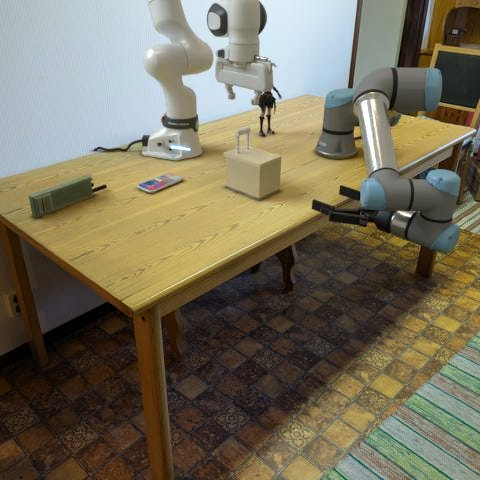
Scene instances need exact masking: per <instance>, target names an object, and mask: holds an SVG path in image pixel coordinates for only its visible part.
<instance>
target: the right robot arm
mask: <svg viewBox="0 0 480 480" xmlns="http://www.w3.org/2000/svg"><path fill="white" fill-rule="evenodd" d="M442 91H443V76H442V71H440V69H439V68H436V67H435V68H434V67H430V66H429V67H390V66H385V67H383V66H382V67H379V68H377V69H374V70H372V71H370V72H369V73H367V74H366V75H365V76H364V77H363V78H362V79H361V80H360V82H358V84H357V86H356V88H349V87H343V88H336V89H333V90H331V91H329V92H328V93H326V95H325V98H324V105H323V117H322V118H323V119H322V129H321V133H320V136H319V138H318V140H317V143H316V145H315V153H316V154H317V156H320V157H323V158H326V159H330V160H331V159H332V160H348V159H352V158H354V157H356V155H357V144H356V140H358V139H361V143H362V151H363V157H364V164H365V169H366V176H367V178H364V179H363V180H362V181H361V183H360V190H358V189H355V188H352V187H349V186H345V185H342V184H340V185H339V191H338V195H339V196H342V197H345V198H348V199H351V200H355V201H357V202H359V201H360V205H361V207H359V206H358V207H357V208H340V207H338V208H337V207H336V208H335V205H331V204H329V203H326V202H323V201H321V200H317V199H314V198H313V199H312V200H311V210H313V211H315V212H318V213H321V214H324V215H327V216H328V222H332V223H339V224H345V225H354V226H359V227H362V228H367V227H368V224H369V223H372V224H374V225H375V228H376V229H377V230H378V231H380V232H384V233H386V234H391V235H392V236H395V237H398V238H401V240H402V241H403V240H406V241H409V242H411V243H413V244H416V245H419V246H421V247H424V248H427V249H429V250H430V251H435V252H438V253H441V254H450V253H451V252H452V251H453V250H454V249H455V248H456V246H457V244H458V243H459V239H460V236H461V227H460V226H459V225H458V224H456V223H454V222H453V219H454V218H453V216H454V213H455V209H456V205H457V203H458V198H459V197H460V196H459V195H460V190H461V189H460V188H461V182H462V181H461V179H462V178H461V177H460V176H459V174H458V173H456V172H454V171H452V170H449V169H443V168H437V169H436V168H435V169H432V170H429V171H428V173H427V175H426V177H425V179H423V178H422V179H418V178H417V179H416V178H401V177H400V176H401V175H400V171H399V164H398V160H397V156H396V150H395V145H394V140H393V136H392V129H391V128H393V127H396V126H397V125H398V124H399V122H400V120H401V118H402V115H412V114H414V113H416V112H426V113H428V112H434V111H436V110H437V109H438V108H439V105H440V101H441V97H442ZM355 127H359V131H360V135H359V136H356V137H355V133H354V132H355Z"/></svg>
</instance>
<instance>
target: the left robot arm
mask: <svg viewBox="0 0 480 480" xmlns="http://www.w3.org/2000/svg"><path fill="white" fill-rule="evenodd" d="M146 2H147V5H148V10H149V13H150V17H151V21H152V25H153V28H154V29H155V30H156V32H158V33H159V34H160V35H162V36H165V37H166V38H167V39H168V40H169V41H170V43H160V44H156V45H153V46H151V47H148V48H147V49H145V52H144V54H143V57H142V59H143V61H142V62H143V67H144V69H145V71H146V73H147V74H148V75H149V76H150V77H151V78H153V79H154V80H155V81H156V82H157V83H158V84H159V86H160V87H161V89H162V92H163V96H164V102H165V113H163V114H162V116H161V118H160V123H161V125H159V127H157V128H156V129H155V130H154V131H152V132H151V133H150V134H143V135H142V137H141V139H137V140H134V141H131V142H130V143H129V144H128V145H127V147H126V148H123V147H113V148H106V147H103V146H96V147H97V148H96V147H95V148H93V150H92V152H97V151H98V150H102V151H104V152H116V151H121V152H127V151H129V150H130V148H131V147H132V146H133V145H135V144H140V143H141V146H142V147H143V148H142V150H141V155H142V156H145V157H152V158H157V159H164V160H170V161H176V162H178V161H182V160H185V159H190V158H191V159H192V158H196V157H198V156H200V155H202V153H203V149H202V148H203V147H202V145H201V142H200V134H199V128H200V121H199V114H198V103H197V94H196V92H195V91H194V89H192V88H191V87H189V86H187V85H185V84H184V82H183V77H185V76H192V75H199V74H202V73H205V72H207V71H209V70H211V68H212V66H213V63H214V54H215V58H216V59H215V63H214V65H215V66H214V77H215V80H216V82H218V83H220V84H224V89H225V90H226V92H227V99H228V100H231V101H234V100H235V99H236V92H234V89H233V87H239V88H244V89H247V90H253V94H254V97H253V98H251V99H250V100H251V103H250V104H251V106H258V104H259V99H260V97H261V95H262V94H263V93H264V92H268V91H271V92H272V90H273V85H274V74H273V73H274V71H273V72H272V70H273V66H272V63H273V62H272V61H270V60H271V59H269V57H268V56H261V55H260V43H261V42H260V37H259V35H260V34H261V33H262V32H263V31H264V29H265V28H266V25H267V22H268V14H267V10H266V9H265V6H264V4H262V2H261V1H260V0H220V1H217V2H214V3H212V4H211V5H210V7H209V8H208V11H207V15H206V24H207V25H206V26H207V28H208V30H209V32H210V33H211V34H212V35H213V36H215V38H228V44H227V45H228V46H225V47H222V48H217V49H216V50H215V53H213V50H212V48H211V46H210V45H209V44H208V43H207V42H205V41H204V40H202V39H201V38H200V37H199V36H198V35H197V34H196V33H195V32H194V30H193V29H192V28H191V26H190V24H189V23H188V20H187V18H186V14H185V12H184V9H183V5H182V1H181V0H146Z"/></svg>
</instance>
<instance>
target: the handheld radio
mask: <svg viewBox="0 0 480 480" xmlns="http://www.w3.org/2000/svg"><path fill="white" fill-rule="evenodd" d="M92 176H93V174H91V173H88V174H85V175H83V176H79V177H76V178H74V179H71V180H68V181H65V182H62V183H59V184H57V185H54V186H50V187H47V188H44V189H42V190H39V191H37V192H33V193H30V194H28V200H29V206H30V210H31V216H32V217H34V218H35V219H36V218H39V217H42V216H45V215H47V214H50V213H53V212H56V211H58V210H60V209H63V208H66V207H68V206H72V205H73V204H76V203H80V202H82V201H84V200H87V199H90V198H93V196H95V195H96V194H95V193H97V192H100V191H102V190H106V189H107V188H108V186H107V184H102V185H99V186H96V187H94V186H95V183H94V182H92V181H93V180H94V178H93V177H92ZM93 187H94V188H93Z"/></svg>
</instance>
